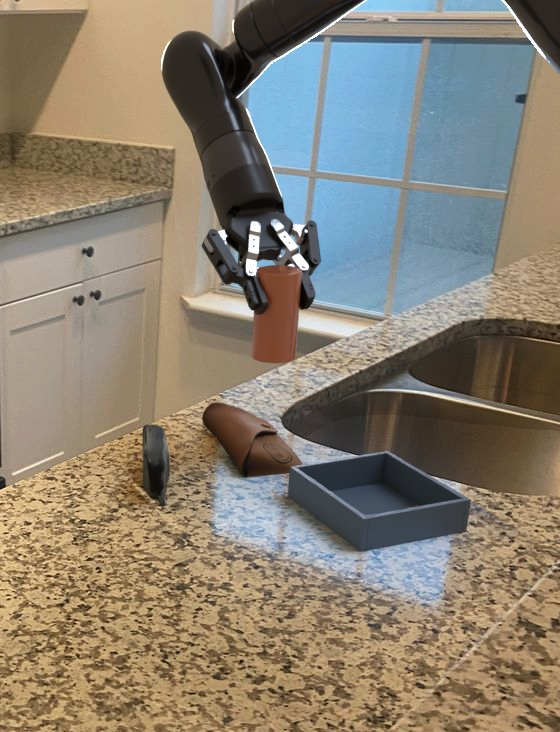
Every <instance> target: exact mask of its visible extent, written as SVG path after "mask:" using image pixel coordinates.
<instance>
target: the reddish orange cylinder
mask: <svg viewBox="0 0 560 732" xmlns="http://www.w3.org/2000/svg"><path fill="white" fill-rule="evenodd" d="M294 266H295V265H294ZM294 266H286V265H275V264H271V265H262V266H260V267H256V274H255V277H259V278H260V281H261V284H262V287H263V289H264V292H265V295H266V298H267V301H268V307H267V309H266V310H265V312H264V313H263V314H259V315H256V314H255V313H254V312H253V317H252V318H253V320H252V334H251V335H252V337H251V355H250V356H251V358H252V360H254V361H257V362H260V363H266V364H284V363H289V362H293V361H295V359H296V358H297V345H298V331H299V318H300V308H299V307H300V293H301V280H302V269H300V268H298V267H294Z"/></svg>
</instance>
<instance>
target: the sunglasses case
mask: <svg viewBox="0 0 560 732" xmlns="http://www.w3.org/2000/svg"><path fill="white" fill-rule="evenodd" d="M201 421H202V424H203V426H204V427H205V428H206V429H207V430H208V432H209V433H211V435H212V436H214V437H215V439H216V440H217V442H218V443H219V444H220V446H221V447H222V448H223V449H224V451H225V452H226V454H227V455H228V457H229V458H230V459H231V460H232V462H233V463H234V465H235V467H237V469H238V470H239V472H241V474H243V475H244V476H245V478H256V477H267V476H277V475H285V474H286V475H289V470H290V467H291V466H298V465H304V463H303V461H302V460H301V459H300V457H299V455H297V453H296V452H295V451H294V450H293V449H292V447H291V446H290V445H289V444H288V443H287V442H286V441H285V440H284V439H283V437H281V435H280V434H279V433H278V429H277V428H276V427H275V426H274V425H273V424H271V423H270V422H268V421H267V420H266V419H265V418H263V417H260V416H256V415H255V414H253V413H251V412H249V411H247V410H244V409H243V408H240V407H237V406H234V405H232V404H229V403H224V402H219V401H216V402H211V403H210V404H209V405H208V406H206V407H205V409H204V410H203V413H202V418H201Z"/></svg>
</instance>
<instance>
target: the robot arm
mask: <svg viewBox="0 0 560 732" xmlns="http://www.w3.org/2000/svg"><path fill="white" fill-rule="evenodd" d="M366 1H367V0H252V1H250V2H249V3H247V4H246V5H245V6H243V7H242V8H241V9H240V10H238V12H237V13H236V14H235V16H234V17H233V19H232V33H233V38H234V40H233V41H232V42H231V43H229V44H228V45H226V46H224V47H222V46H221V45H219V43H217V42H216V41H214V39H212V38H211V37H210V36H209V35H207V34H205V33H203V32H201V31H197V30H184V31H182V32H179V33H178V34H176V35H175V36H173V37H172V38H171V39H170V40H169V42H168V43H167V45H166V46H165V49H164V51H163V55H162V58H161V66H160V67H161V76H162V80H163V84H164V87H165V89H166V91H167V93H168V95H169V98H170V99H171V101H172V102H173V104H174V106H175V108H176V109H177V111H178V113H179V115H180V116H181V118H182V120H183V121H184V123H185V124H186V126H187V127H188V129H189V131H190V133H191V136H192V140H193V143H194V146H195V149H196V152H197V155H198V157H199V161H200V164H201V168H202V172H203V179H204V182H205V185H206V189H207V191H208V193H209V194H208V195H209V198H210V199H211V203H212V206H213V208H214V212H215V214H216V217H217V220H218V223H219V226H220V227H221V229H222V230H217V229H215V228H210V229H209V230H208V232H207V234H206V236H205V238H204V240H203V241H202V243H201V249H202V250H203V252H204V254H205V255H206V256H207V258H208V260H209V262H210V263H211V264H212V266H213V268H214V270H215V271H216V273H217V274H218V277H219V278H220V279H221V281H222V283H223V284H224V285H228V286H230V285H231V284H236V285H238V286H239V287H240V288H241V289H242V292H243V295H244V297H245V300H246V303H247V307H248V308H249V309H250V311H253V314H254V313H255V314H256V315H259V314H263V313H264V312H265V310H266V309H267V307H268V301H267V298H266V295H265V292H264V289H263V287H262V284H261V281H260V278H259V277H256V269H257V268H258V267H257V265H258V263H257V262H260V261H262V260H263V261H272V262H273V263H274V265H286V266H294V267H298V268H300V269H302V280H301V293H300V307H299V310H301V311H304V310H308V309H309V308H310V307H311V306H312V304H313V303H314V301H315V298H316V291H315V290H316V289H315V288H314V285H313V283H312V280H311V277H310V276H312V275H313V273H314V272H315V271H316V269H317V268H318V266H319V265H321V263H322V257H321V248H320V241H319V231H318V224H317V222H316V221H314V220H311V219H310V220H307V222H306V223H305V224H302V223H294V221H293V220H292V219H291V218H290V217H289V216H288V215H287V213H286V212H285V203H284V198H283V196H282V193H281V190H280V188H279V185H278V182H277V178H276V177H275V173H274V171H273V169H272V166H271V163H270V160H269V158H268V155H267V153H266V150H265V149H264V147H263V145H262V143H261V142H260V139H259V137H258V134H257V132H256V129H255V127H254V124H253V122H252V119H251V115H250V113H249V111H248V109H247V108H246V106H245V104H244V103H243V102H242V100H240V99H239V97H240V96H241V95H242V94H243V93H244V92H245V91H246V90H247V89H248V88H249V87H250V86H251V85H252V84H253V83H254V82H255V81H256V80H257V79H258V78H259V77H260V76H261V75H262V74H263V73H264V71H266V70H267V68H268V67H270V65H271V64H273V62H276V61H277V60H279V59H281V58H283V57H285V56H286V55H288V54H289V53H290V52H292V51H294V50H295V49H297V48H299V47H301V46H302V45H303V44H305V43H308V41H310V40H311V39H313V38H315V37H317V36H318V35H319V34H321V33H322V32H324V31H325V30H326V29H328V28H329V27H331V26H332V25H334V24H335V23H336V22H338V21H339V20H341V19H342V18H343V17H345V16H346V15H347V14H349V13H350V12H351V11H353V10H355V9H356V8H358V7H359V6H360V5H361V4H363V3H365V2H366ZM502 2H503V3H504V4H505V5H506V6H507V8H508V9H509V11H510V12H511V14H512V15H513V16H514V18H515V19H516V21H517V23H518V24H519V26H520V27H521V28H522V30H523V32H524V33H525V35H526V36H527V38H528V39H529V40H530V41H531V43H532V44H533V45H534V47H535V48H536V49H537V51H538V52H539V54H540V55H541V56H542V57H543V59H544V60H545V61H546V62H547V63H548V65H550V66H551V68H552V69H553V70H554V71H555V72H556V73H557V74H559V75H560V0H502ZM291 236H292V237H293V238H294V240H293V238H292V237H291ZM229 247H230V248H232V249H233V250H234V251H236V252H237V260H236V259H235V257H234V255H233V253H232V252H231V250H230V249H229ZM283 253H284V254H283Z"/></svg>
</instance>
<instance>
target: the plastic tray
mask: <svg viewBox="0 0 560 732" xmlns="http://www.w3.org/2000/svg"><path fill="white" fill-rule="evenodd" d="M287 484H288V485H287V498H289V499H290V500H291V501H292V502H294V503H295V504H296V505H298V506H299V507H301V508H302V510H304V511H306V512H307V513H308V514H310V515H311V516H312V517H314V518H315V519H316V520H318V521H319V522H320V523H321V524H323V525H324V526H326V527H327V528H328V529H329V530H331V531H332V532H333V533H335V534H336V535H337V536H338V537H340V538H341V539H342V540H344V541H345V542H346V543H348V545H350V546H352V547H353V548H354V549H356V550H357V551H358V552H359V553H362V552H368V551H373V550H377V549H382V548H383V549H384V548H387V547H389V548H390V547H395V546H399V545H404V544H410V543H415V542H420V541H425V540H430V539H435V538H441V537H446V536H451V535H456V534H463V533H466V532H467V530H468V524H469V523H468V522H469V517H470V510H471V504H472V499H470V498H469V497H467V496H466V495H464V494H462V493H460V492H458V491H457V490H455V489H454V488H452V487H450V486H448V485H447V484H445V483H444V482H442V481H440V480H439V479H437V478H435V477H433V476H431V475H429V474H428V473H426V472H425V471H423V470H422V469H419V468H418V467H416V466H414V465H412V464H411V463H410V462H408V461H405V460H404V459H402V458H401V457H399V456H397V455H396V454H394V453H392V452H391V451H388V450H384V451H379V452H372V453H365V454H360V455H354V456H353V455H352V456H348V457H347V456H346V457H341V458H334V459H329V460H324V461H317V462H311V463H303V465H298V466H291V467H290V470H289V473H288V483H287Z"/></svg>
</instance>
